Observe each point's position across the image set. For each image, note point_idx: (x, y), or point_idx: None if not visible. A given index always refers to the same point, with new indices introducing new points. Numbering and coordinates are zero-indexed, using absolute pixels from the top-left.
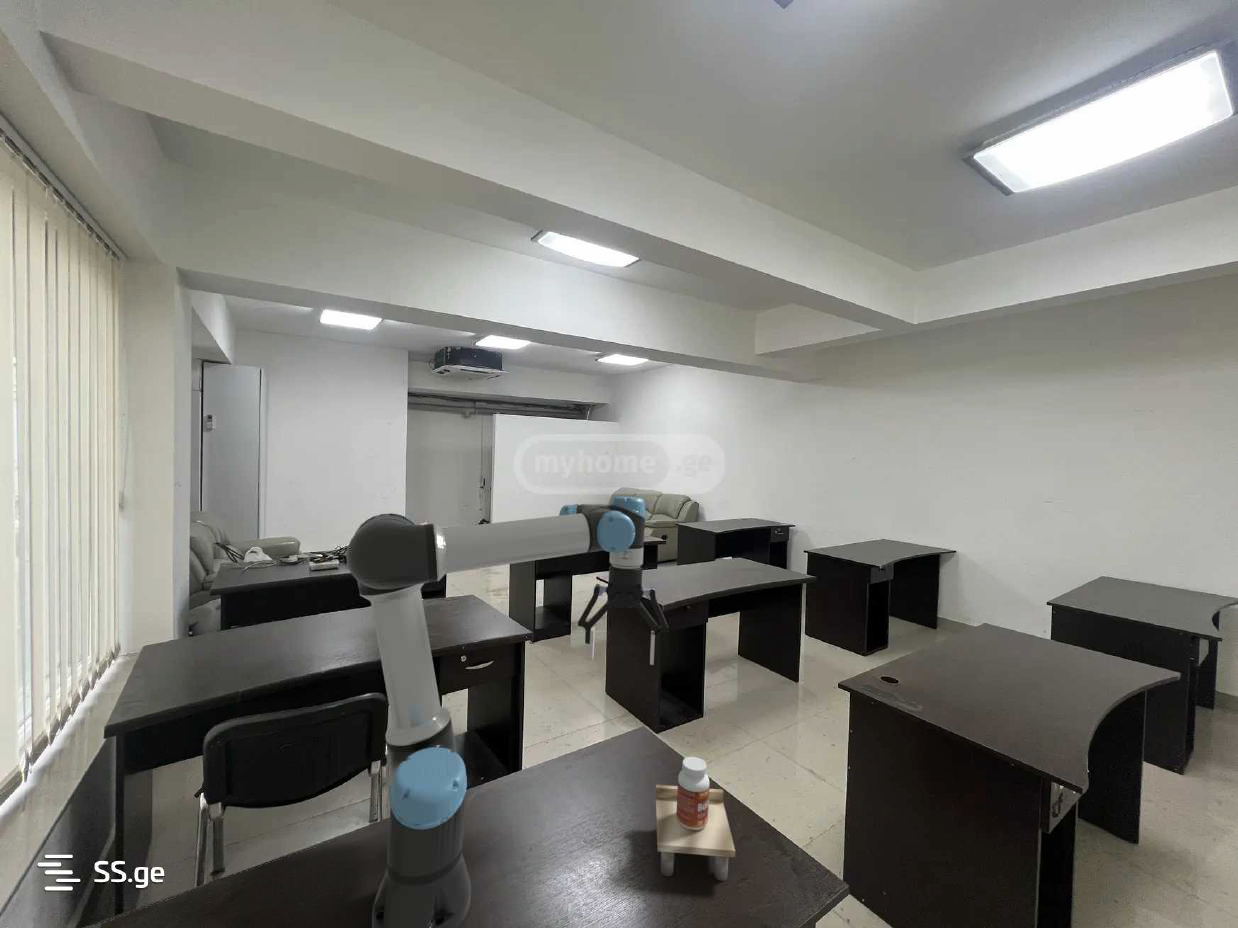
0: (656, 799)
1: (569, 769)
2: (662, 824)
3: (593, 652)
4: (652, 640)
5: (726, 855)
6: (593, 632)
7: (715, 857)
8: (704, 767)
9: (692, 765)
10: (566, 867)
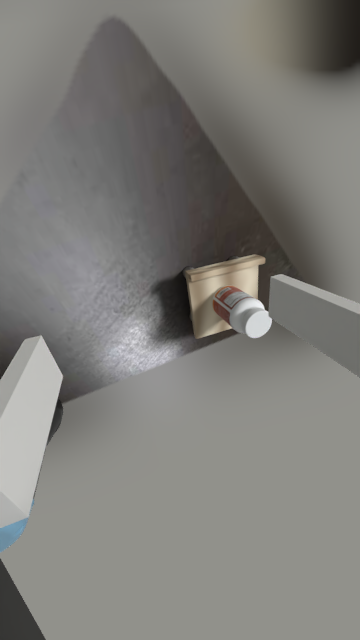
0: (189, 281)
1: (26, 185)
2: (198, 315)
3: (43, 358)
4: (345, 362)
5: None
6: (30, 505)
7: None
8: (268, 327)
9: (256, 330)
10: (112, 342)
